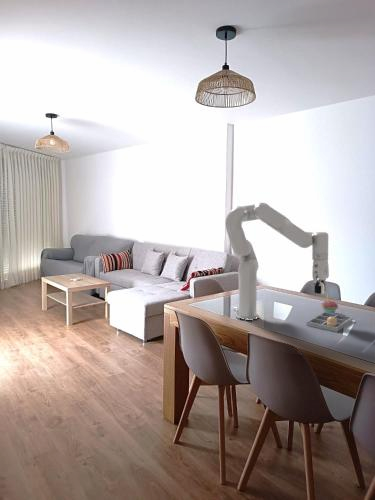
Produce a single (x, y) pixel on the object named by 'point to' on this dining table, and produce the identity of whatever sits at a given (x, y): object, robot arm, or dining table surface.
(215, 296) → the dining table surface
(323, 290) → the cream egg
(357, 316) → the dining table surface
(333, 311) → the cupcake
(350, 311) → the dining table surface
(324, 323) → the egg tray
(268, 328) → the dining table surface
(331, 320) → the brown egg
